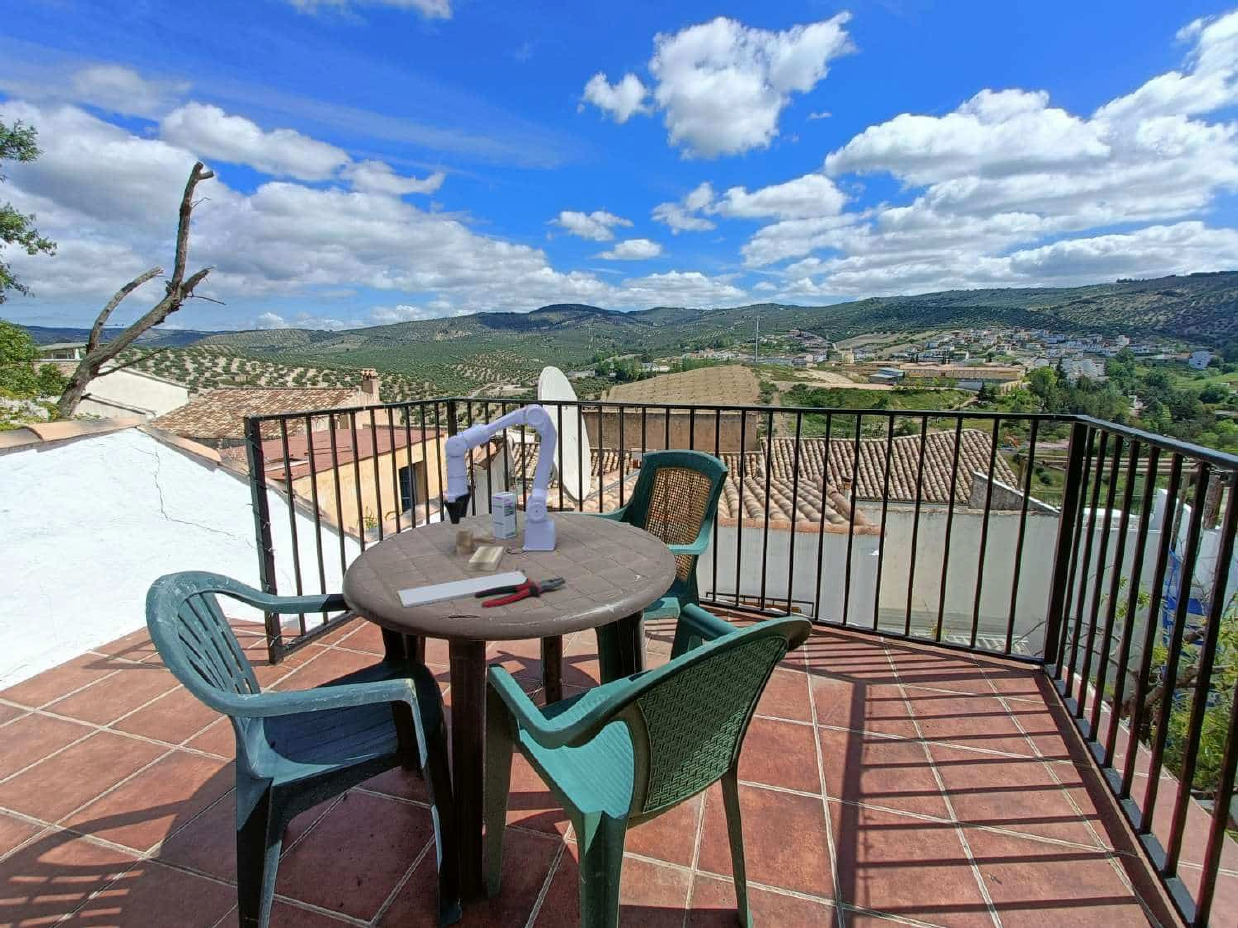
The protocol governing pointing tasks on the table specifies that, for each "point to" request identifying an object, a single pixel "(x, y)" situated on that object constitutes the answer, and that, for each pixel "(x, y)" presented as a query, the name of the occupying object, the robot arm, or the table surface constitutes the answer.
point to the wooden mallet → (469, 541)
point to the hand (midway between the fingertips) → (458, 520)
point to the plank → (486, 559)
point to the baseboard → (458, 588)
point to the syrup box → (504, 515)
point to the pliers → (524, 590)
